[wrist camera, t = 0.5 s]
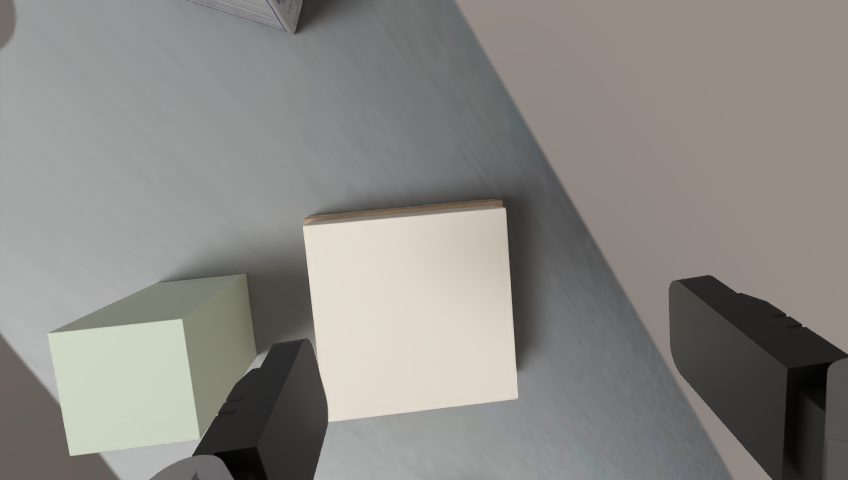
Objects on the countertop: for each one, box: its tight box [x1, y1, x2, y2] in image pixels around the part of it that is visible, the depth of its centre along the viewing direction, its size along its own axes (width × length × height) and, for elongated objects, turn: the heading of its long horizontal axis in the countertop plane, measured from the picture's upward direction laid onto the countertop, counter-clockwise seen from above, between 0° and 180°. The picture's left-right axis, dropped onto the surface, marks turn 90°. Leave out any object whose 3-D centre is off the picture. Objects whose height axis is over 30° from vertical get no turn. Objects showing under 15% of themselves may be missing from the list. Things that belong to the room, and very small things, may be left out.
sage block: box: [48, 274, 257, 456], centre depth 25 cm, size 5×5×10 cm
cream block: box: [303, 205, 518, 422], centre depth 27 cm, size 10×10×3 cm
